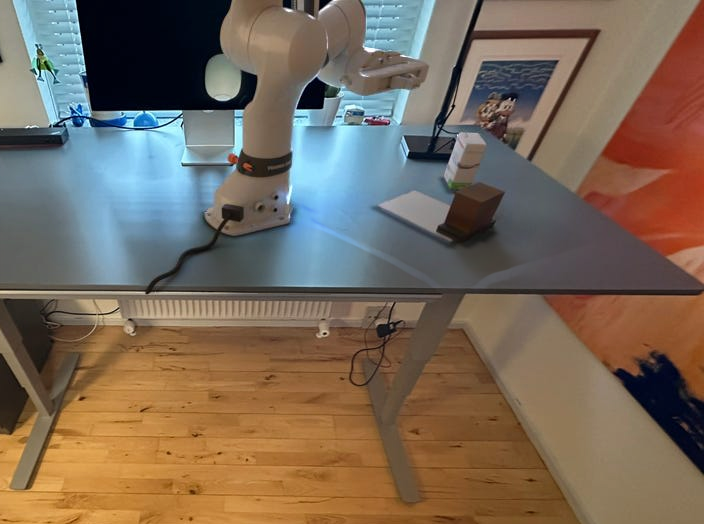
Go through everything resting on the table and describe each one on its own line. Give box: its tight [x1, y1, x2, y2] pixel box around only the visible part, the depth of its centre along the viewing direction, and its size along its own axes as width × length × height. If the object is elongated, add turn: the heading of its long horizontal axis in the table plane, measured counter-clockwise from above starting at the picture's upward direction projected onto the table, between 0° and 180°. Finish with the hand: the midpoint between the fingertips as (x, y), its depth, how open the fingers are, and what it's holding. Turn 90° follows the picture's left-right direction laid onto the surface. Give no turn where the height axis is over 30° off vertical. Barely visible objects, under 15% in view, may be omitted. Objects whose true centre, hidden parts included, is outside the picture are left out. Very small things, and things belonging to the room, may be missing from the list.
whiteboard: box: [376, 189, 454, 243], centre depth 98 cm, size 14×21×1 cm, turn 33°
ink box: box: [443, 131, 488, 190], centre depth 104 cm, size 9×5×12 cm, turn 171°
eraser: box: [436, 181, 506, 244], centre depth 89 cm, size 12×6×8 cm, turn 123°
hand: (416, 84), depth 87 cm, fingers closed
